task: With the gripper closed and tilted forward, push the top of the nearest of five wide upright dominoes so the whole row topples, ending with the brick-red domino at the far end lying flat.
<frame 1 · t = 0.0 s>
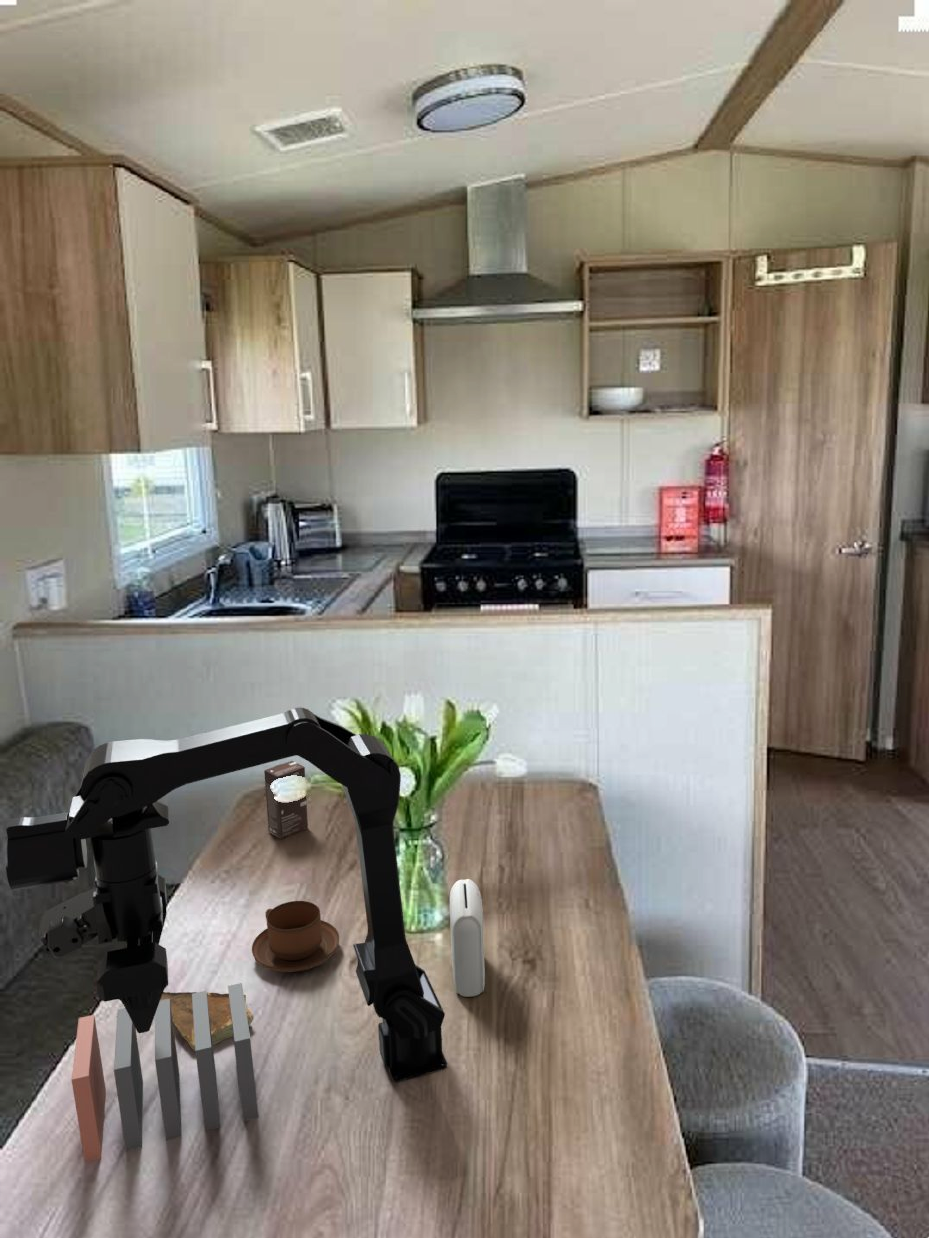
hand: (144, 1003, 97), 15 cm above the table, tool pointing down, fingers open, 9 cm apart
domino 4: (134, 1115, 102), on the table
cup and saucer: (296, 955, 130), on the table
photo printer: (468, 975, 124), on the table
domino 5: (95, 1124, 101), on the table
domino 2: (210, 1096, 104), on the table
domino 3: (172, 1105, 103), on the table
domino 1: (246, 1087, 106), on the table
shard: (196, 1030, 116), on the table
box: (289, 831, 167), on the table
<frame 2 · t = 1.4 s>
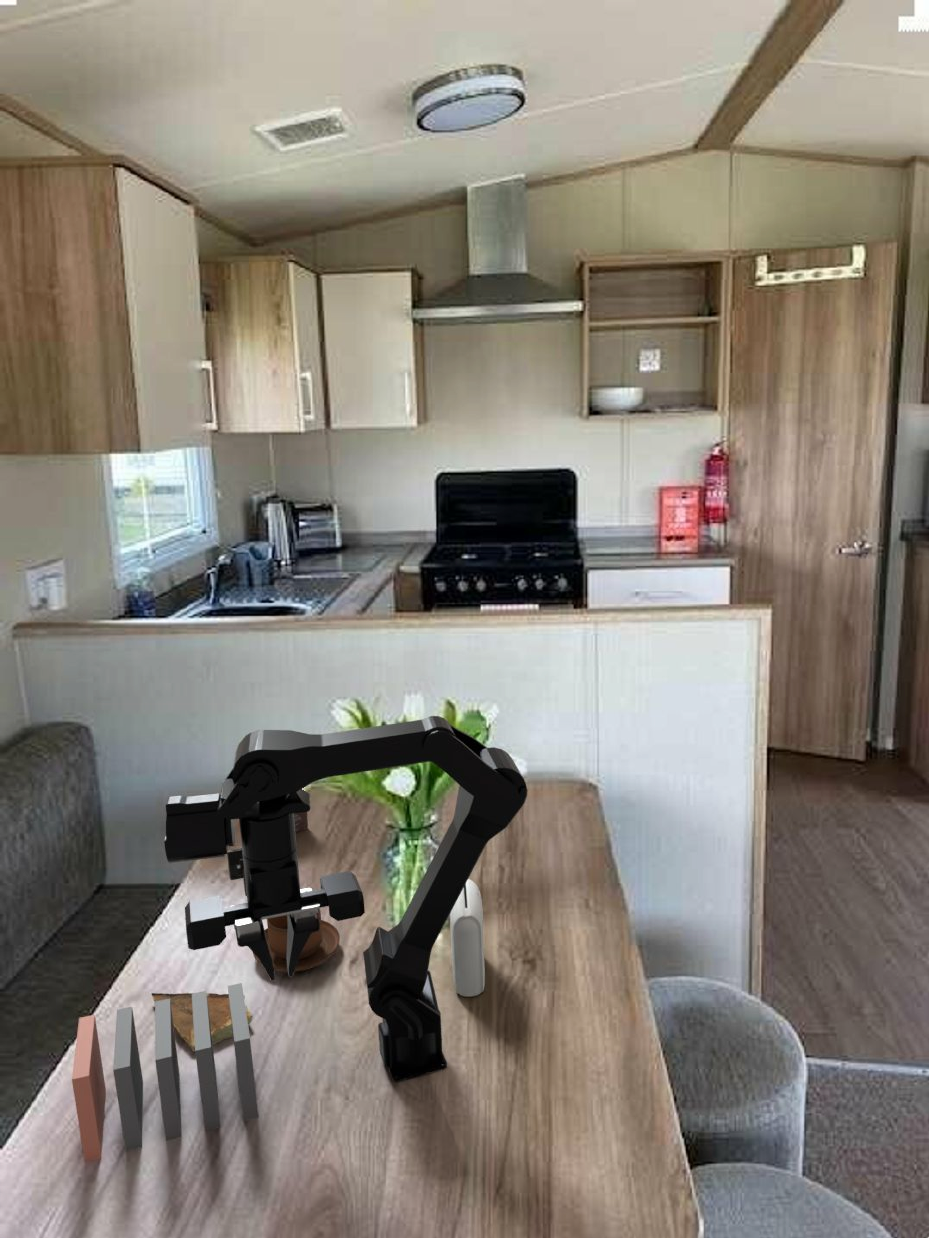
hand: (281, 976, 104), 13 cm above the table, tool pointing down, fingers closed
nothing on the table moved.
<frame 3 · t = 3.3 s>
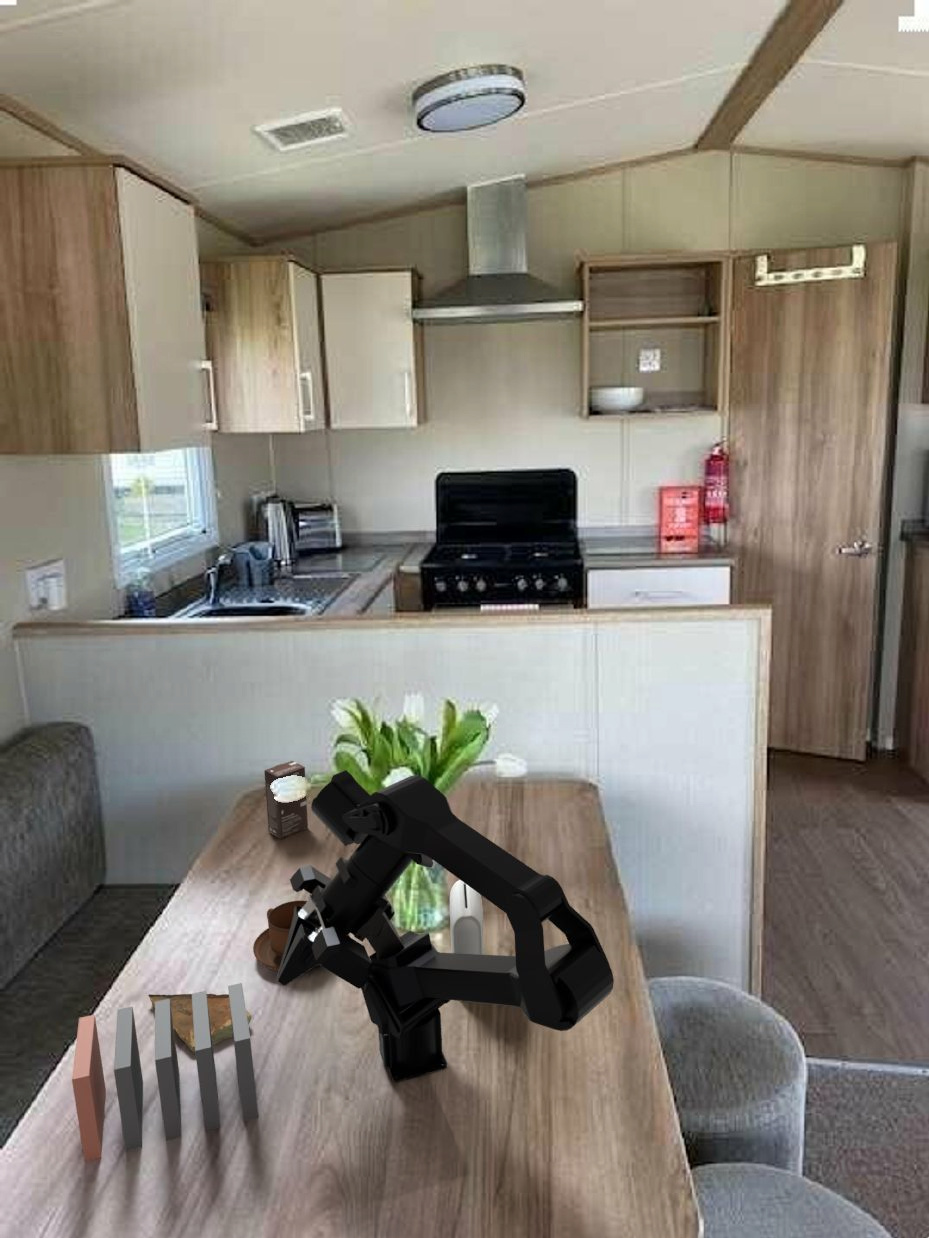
hand: (280, 982, 104), 13 cm above the table, tool tilted 45°, fingers closed
nothing on the table moved.
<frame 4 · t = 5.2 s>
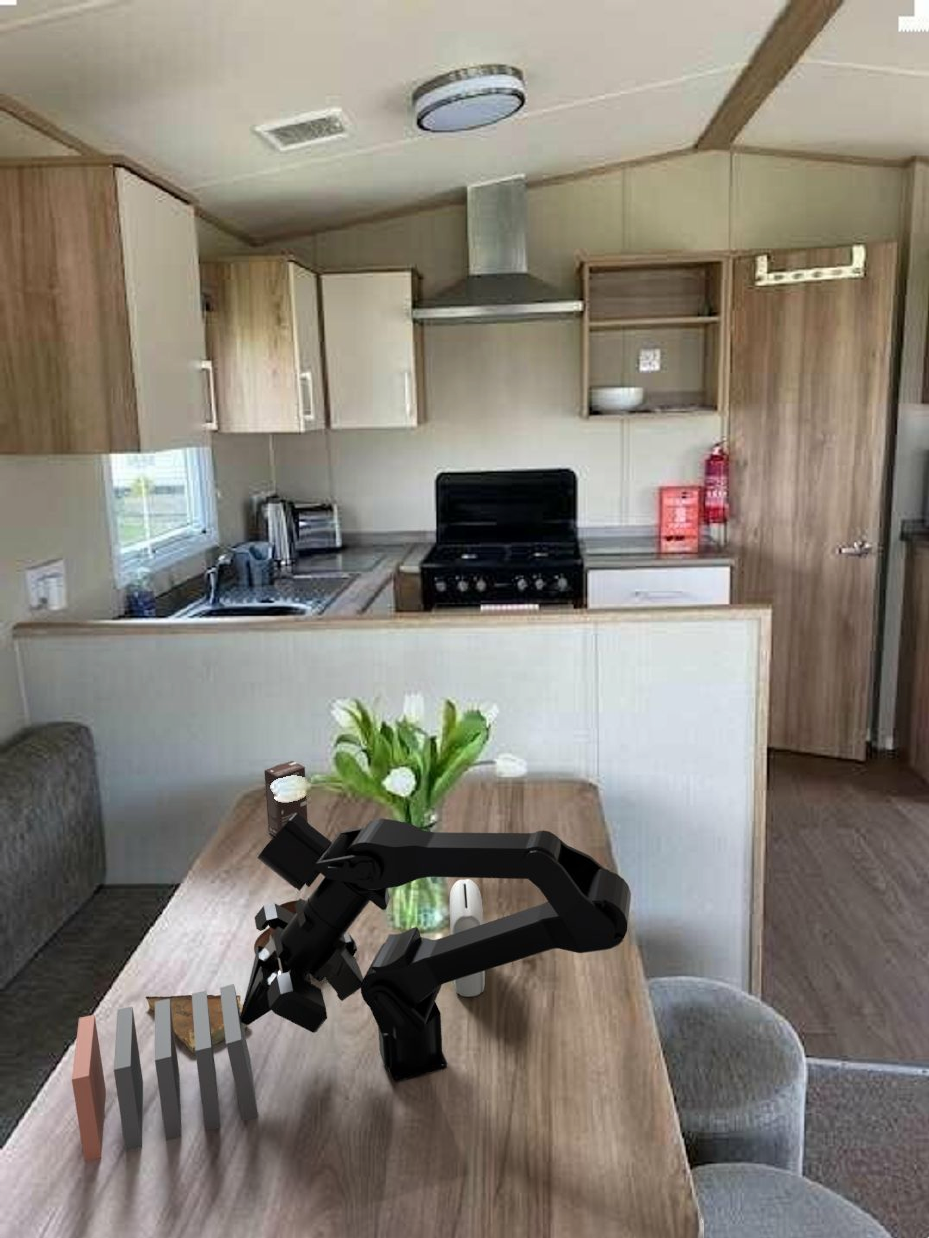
hand: (243, 1021, 106), 7 cm above the table, tool tilted 40°, fingers closed
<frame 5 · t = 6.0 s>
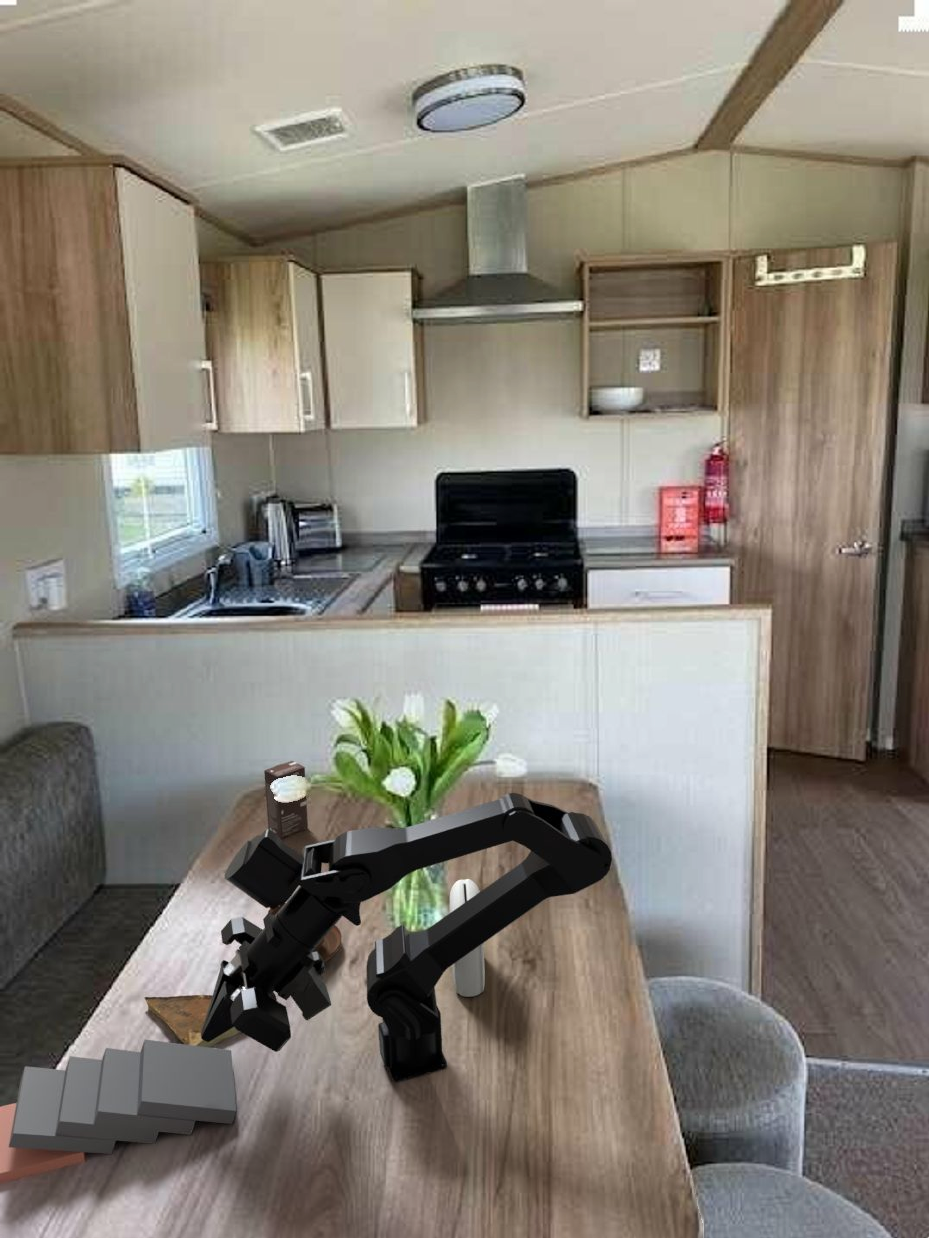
hand: (204, 1038, 103), 7 cm above the table, tool tilted 45°, fingers closed
domino 4: (115, 1112, 101), point 1 cm above the table, tilted 67°, touching domino 3, domino 5
domino 5: (87, 1123, 101), on the table, tilted 90°, touching domino 4
domino 2: (192, 1095, 104), point 1 cm above the table, tilted 67°, touching domino 1, domino 3
domino 3: (157, 1103, 103), point 1 cm above the table, tilted 67°, touching domino 2, domino 4
domino 1: (231, 1085, 105), point 1 cm above the table, tilted 67°, touching domino 2
everything else where it was.
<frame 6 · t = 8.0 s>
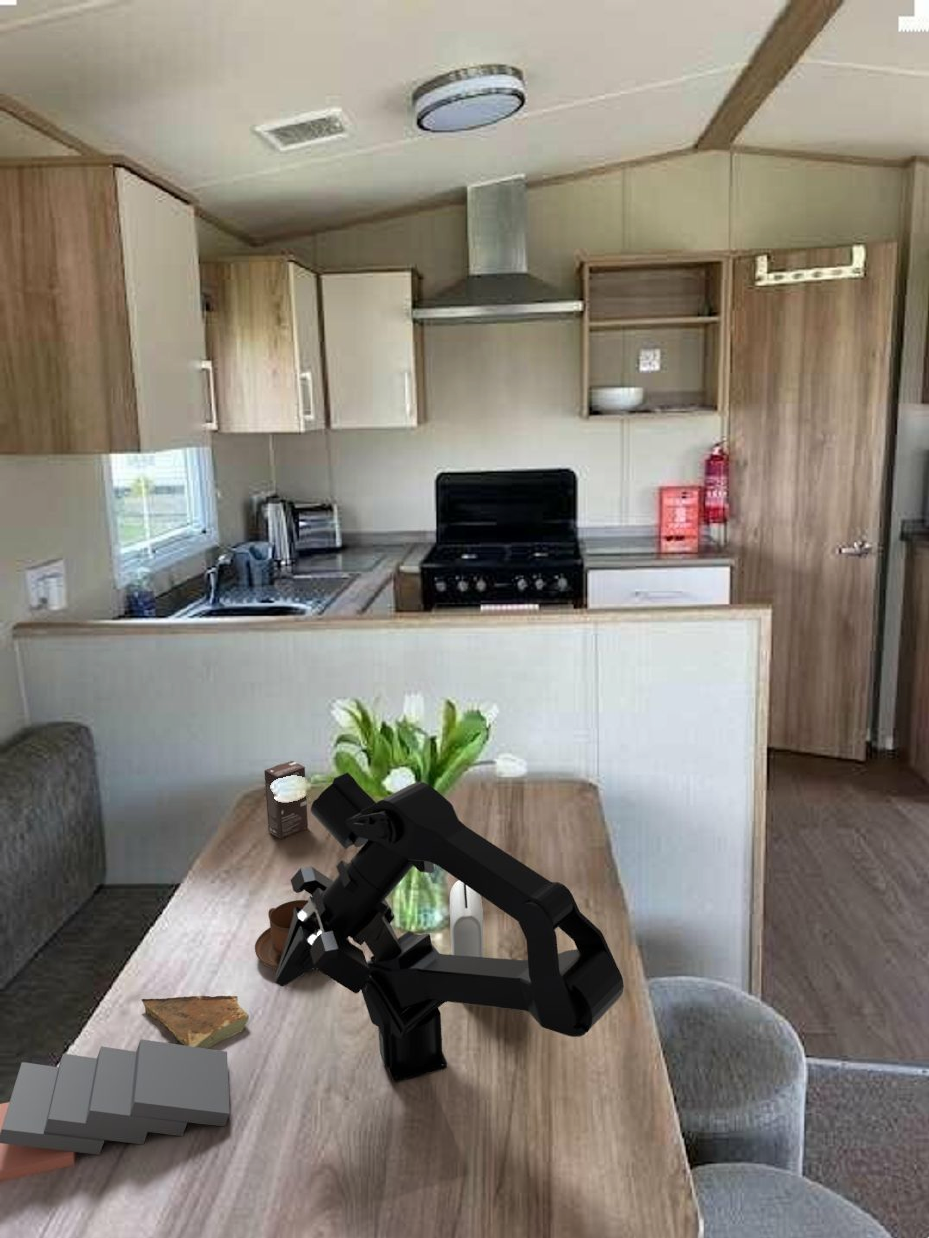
hand: (278, 982, 104), 12 cm above the table, tool tilted 45°, fingers closed
domino 1: (225, 1087, 105), point 1 cm above the table, tilted 67°, touching domino 2
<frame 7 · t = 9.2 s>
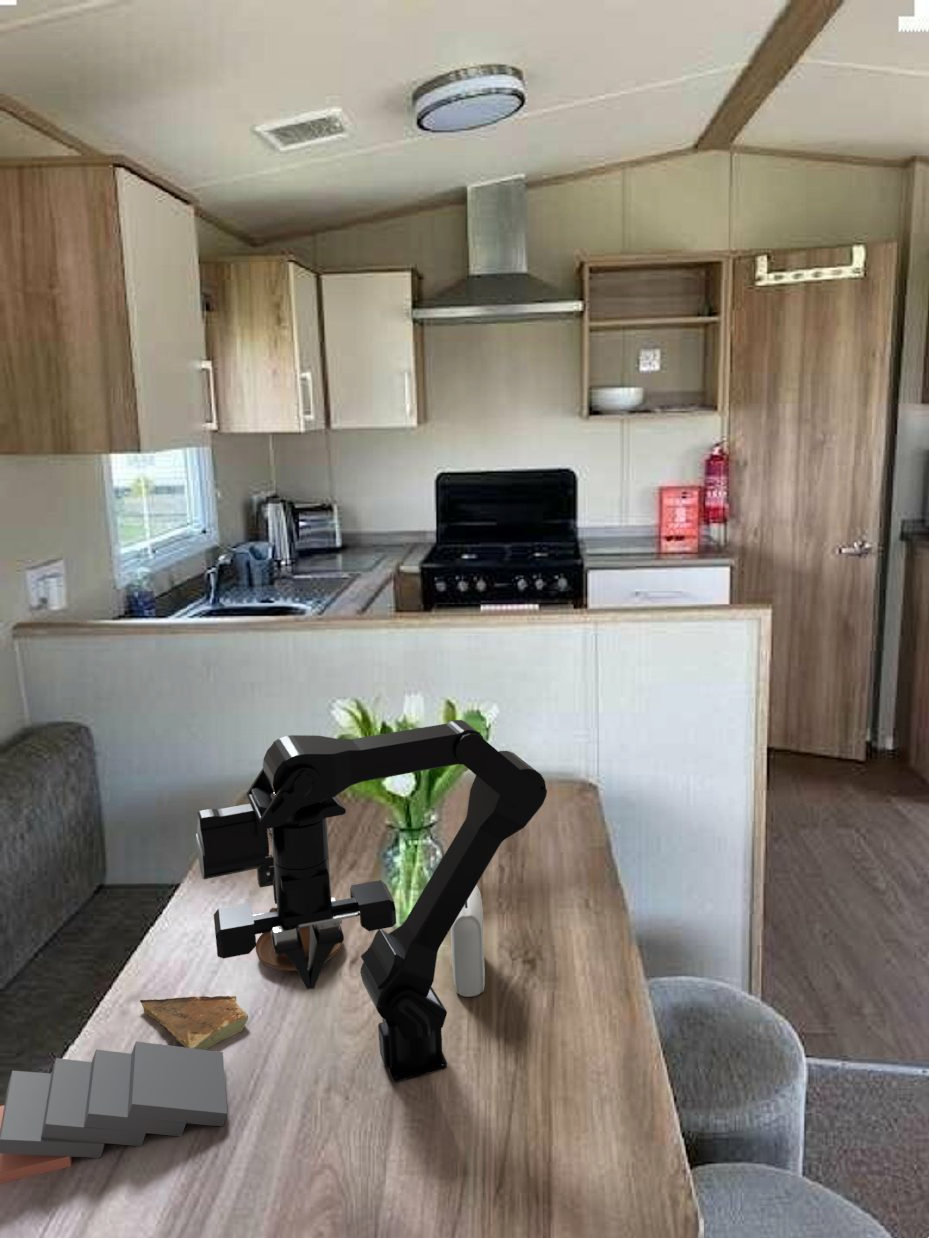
hand: (309, 986, 102), 13 cm above the table, tool pointing down, fingers closed
domino 4: (103, 1115, 101), point 1 cm above the table, tilted 68°, touching domino 3, domino 5
domino 2: (183, 1096, 103), point 1 cm above the table, tilted 67°, touching domino 3
domino 1: (222, 1087, 105), point 1 cm above the table, tilted 67°
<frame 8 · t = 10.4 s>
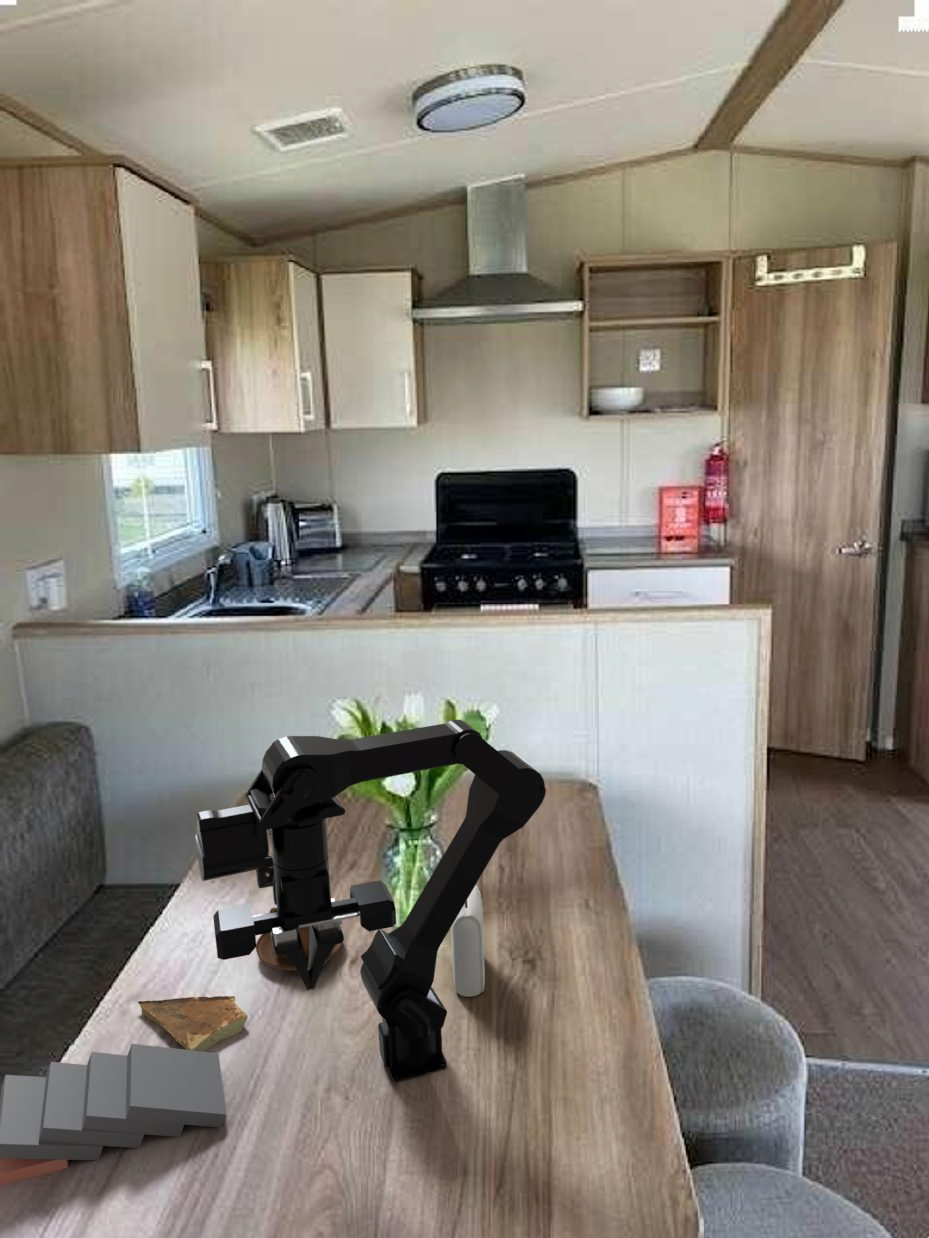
hand: (310, 987, 102), 13 cm above the table, tool pointing down, fingers closed
at the end: domino 1 tilted 67°; domino 3 tilted 66°; domino 5 tilted 90° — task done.
